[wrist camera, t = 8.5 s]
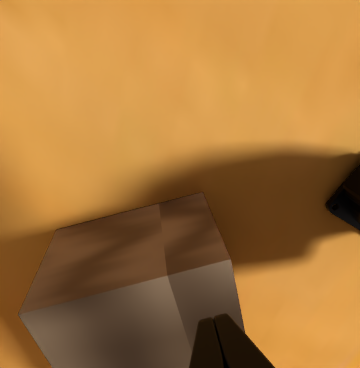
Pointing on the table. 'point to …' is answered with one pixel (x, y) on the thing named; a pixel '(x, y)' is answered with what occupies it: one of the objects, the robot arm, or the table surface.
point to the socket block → (131, 288)
